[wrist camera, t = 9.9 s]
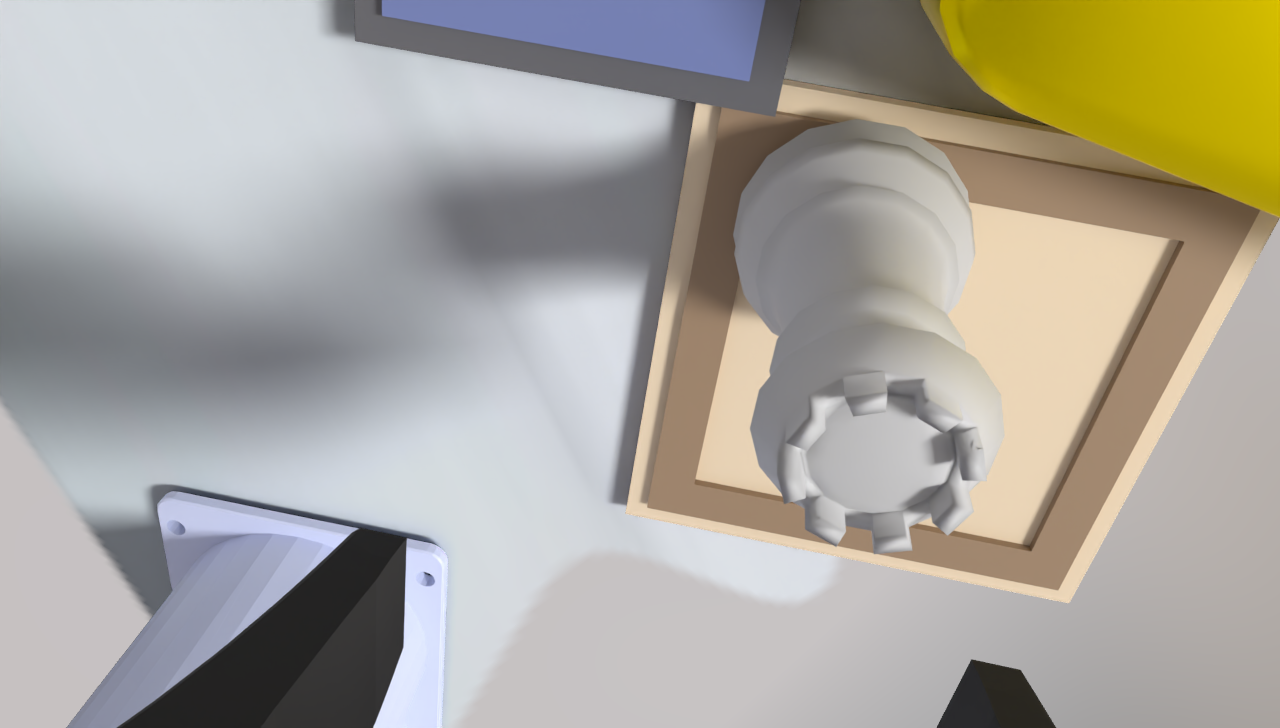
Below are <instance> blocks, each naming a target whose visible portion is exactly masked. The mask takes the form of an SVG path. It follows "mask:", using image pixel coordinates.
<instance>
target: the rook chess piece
mask: <svg viewBox="0 0 1280 728" xmlns="http://www.w3.org/2000/svg"><path fill="white" fill-rule="evenodd" d="M733 237H734V241H735V246H736V247H735V252H734V255H735V259H736V264H737V268H738V272H739V277H740V281H741V285H742V290H743V294H744V295H745V297H746V299H747V300H748V302H749V303H750V305H751V306H752V307H753V308H754V310H755V311H756V312H757V314H758V315H759V316H760V318H761V319H762V320H763V322H764V323H765V324H766V326H767V327H768V328H769V330H770V331H771V332H772V333H774V334H775V335H777V336H779V337H778V339H777V341H776V345H775V350H774V354H773V358H772V362H771V366H770V370H769V372H770V377H769V378H768V379H767V381H766V382H765V383H764V384H763V386H762V387H761V388H760V389H759V392H758V397H757V401H756V405H755V409H754V413H753V417H752V421H751V426H750V432H751V436H752V440H753V444H754V448H755V452H756V456H757V460H758V464H759V467H760V468H761V469H762V470H763V472H764V473H765V474H766V475H767V477H768V478H769V479H770V480H771V481H772V483H773V484H774V485H775V486H776V488H777V489H778V490H779V491H780V493H781V494H782V497H783V501H784V504H787V503H790V502H794V503H795V504H797V505H799V506H801V507H802V508H804V509H805V530H807V531H809V532H810V533H812V534H814V535H816V536H817V537H819V538H821V539H823V540H825V541H826V542H828V543H830V544H832V545H834V546H835V547H837V545H838V543H839V542H840V540H841V539H842V537H843V536H844V534H845V532H846V526H849V527H854V528H859V529H864V530H869V531H871V533H872V543H873V552H874V554H882V553H892V552H903V551H913V550H912V544H911V537H910V531H909V527H910V526H912V525H915V524H917V523H919V522H922V521H924V520H926V519H929V518H931V517H932V523H933V524H935V525H936V526H937V527H938V528H939V529H940V530H941V531H943V532H944V533H945V534H946V535H947V536H948V535H949V534H950V533H951V532H952V531H954V530H955V529H956V528H957V527H958V526H959V525H960V524H961V523H962V522H963V521H964V520H966V519H967V518H968V517H969V516H970V515H971V514H972V513H973V512H974V510H973V506H972V502H971V498H970V494H969V492H970V491H971V490H972V489H973V488H974V487H975V486H976V485H977V484H978V483H979V482H980V481H987V477H986V476H987V475H988V474H989V472H990V469H991V467H992V464H993V462H994V460H995V457H996V455H997V453H998V450H999V448H1000V446H1001V443H1002V441H1003V439H1004V436H1005V434H1004V423H1003V412H1002V400H1001V394H1000V393H999V391H998V390H997V388H996V387H995V385H994V384H993V382H992V381H991V379H990V378H989V376H988V375H987V373H986V372H985V370H984V368H983V367H982V365H981V364H980V362H979V361H978V359H977V358H975V357H974V356H972V355H971V354H969V353H967V352H966V348H965V341H964V340H963V338H962V337H961V335H960V334H959V332H958V331H957V329H956V328H955V326H954V325H953V323H952V321H951V320H950V318H949V317H948V314H949V312H950V311H951V310H952V309H953V308H954V307H955V306H956V305H957V304H958V303H959V300H960V297H961V294H962V292H963V289H964V286H965V283H966V280H967V278H968V275H969V272H970V269H971V266H972V264H973V260H974V257H975V254H976V253H975V242H974V232H973V221H972V211H971V209H970V207H969V199H968V191H967V189H966V187H965V186H964V184H963V182H962V181H961V179H960V177H959V176H958V174H957V173H956V171H955V169H954V168H953V166H952V164H951V163H950V161H949V160H948V158H947V156H946V155H945V153H944V152H942V151H941V150H939V149H938V148H936V147H935V146H933V145H931V144H930V143H928V142H927V141H925V140H924V139H922V138H921V137H919V136H918V135H916V134H915V133H913V132H912V131H910V130H909V129H907V128H905V127H901V126H895V125H889V124H883V123H878V122H872V121H866V120H860V119H854V120H849V121H844V122H839V123H835V124H830V125H825V126H821V127H816V128H811V129H807V130H806V131H804V132H803V133H801V134H800V135H798V136H797V137H795V138H794V139H792V140H791V141H789V142H788V143H786V144H784V145H783V146H781V147H780V148H778V149H777V150H775V151H774V152H772V153H771V154H769V155H768V156H767V157H766V158H765V160H764V161H763V163H762V164H761V166H760V167H759V169H758V170H757V171H756V173H755V174H754V176H753V177H752V179H751V180H750V182H749V183H748V184H747V186H746V187H745V189H744V190H743V192H742V193H741V198H740V203H739V208H738V213H737V218H736V223H735V228H734V233H733Z"/></svg>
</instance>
